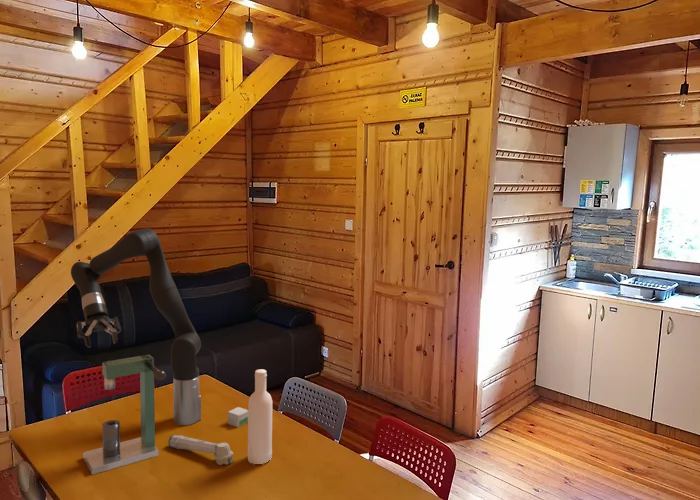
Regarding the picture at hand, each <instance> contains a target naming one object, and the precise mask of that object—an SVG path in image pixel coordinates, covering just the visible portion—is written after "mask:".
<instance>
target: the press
mask: <svg viewBox="0 0 700 500" xmlns="http://www.w3.org/2000/svg"><path fill="white" fill-rule="evenodd" d="M101 364H102V365H101V367H102V376H103V377H104V382H103V383H104V390H106V391H107V390H108V391H110V390H114V389H115V388H116V378H120V377H121V378H122V377H125V376H130V375H131V376H132V375H136V374H139V387H140V389H139V391H140V392H139V393H140V395H139V396H140V397H139V398H140V400H139V401H140V437H139V436H138V437H136V438H133V439H129V440H125V441H120V453H119V454H118V455H116V456H113V457H105V456H103V446H102V447H98V448H95V449H91V450H87V451H84V452H82V454H83V455H82V456H83V460H84V462H85V464H86V465H87V468H88V470H89V472H90V474H91V475H96V474H99V473H102V472H107V471H110V470H115V469H117V468H121V467H124V466H127V465H131V464H133V463H138V462H141V461H144V460H147V459H151V458H155V457H158V456H159V449H158V447H157V445H156V430H155V429H156V428H155V427H156V426H155V425H156V424H155V423H156V420H155V418H156V417H155V414H156V413H155V412H156V411H155V379H156V380H157V381H162V380H164V379H165V378H166V376H167V374H166V372H165V371H164V370H163V369H162V370H161V369H160V370H159V369H158V368H157V367H156V365H155V358H154V357H153V356H152V355H150V354H144V355H138V356H133V357H132V356H131V357H126V358H120V359H114V360H108V361H103V362H102V363H101Z"/></svg>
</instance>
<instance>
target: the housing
mask: <svg viewBox="0 0 700 500" xmlns="http://www.w3.org/2000/svg"><path fill="white" fill-rule="evenodd" d="M120 422H121V421H120V420H117V419H109V420H106V421H104V422H103V423H102V424H101V425H102V447H103V456H105V457H113V456H116V455H118V454H119V453H120V442H121V434H120V433H121V430H120V429H121V428H120V426H121V425H120Z"/></svg>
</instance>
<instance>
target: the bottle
mask: <svg viewBox="0 0 700 500" xmlns="http://www.w3.org/2000/svg"><path fill="white" fill-rule="evenodd" d="M254 372H255V373H254V391H253V393H251V395H250V396H249V398H248V407H247V408H248V409H247V410H248V425H247V462H249V463H250V464H252V463H253V464H252V465H255V464H262V465H264V464H263V463H266V462H268V461H269V460H270V461H271V460H272V459H271V458H272V456H273V399H272V398H273V397H272V396H271V394H270V393H269V392H268V391H267V377H268V374H267V370H266V369H263V368H262V369H261V368H260V369H256V370H255V371H254ZM270 461H269V462H270ZM269 462H268V463H269ZM266 464H267V463H266Z"/></svg>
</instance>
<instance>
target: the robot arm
mask: <svg viewBox="0 0 700 500" xmlns="http://www.w3.org/2000/svg"><path fill="white" fill-rule="evenodd" d="M141 256H145V257H146V260H147V262H148V264H149V270H150V274H149V293H150V296H151V297H152V300H153V302H154V305H155V306H156V308H157V311H159V313H161V315H162V316H163V317H164V319H165V320H166V321H167V323H169V324H170V326H171V328H172V331H173V333H174V335H175V336H174V337H175V340H174V341H173V342H172V344H171V346H170V366H171V371H172V375H173V376H172V377H173V379H172V380H173V383H172V384H173V385H172V386H173V389H172V390H173V422H174V424H175V425H178V426H189V425H193V424H195V423H197V422H198V421H202V396H201V394H200V369H199V367H198V366H197V354H198V353H199V352H200V350H201V348H202V341H201V338H200V336H199V334H198V332H197V331H196V328H195V327H194V325H193V324H192V322H191V319H190V318H189V316H188V313H187V310H186V307H185V304H184V303H183V301H182V297H181V295H180V292H179V290H178V287H177V285H176V283H175V280H174V279H173V277H172V274H171V271H170V269H169V266H168V264H167V261H166V258H165V257H166V256H165V254H164V250H163V247H162V244H161V241H160V238H159V236H158V235H157V233H156V231H155V230H153V229H152V228H149V227H145V228H141V229H137V230H133V231H131V232H129V233H127V235H125V236H124V237H123V238H122V239H121V240H120V241H119V242H118V243H116V244H115V245H114V246H112V247H110V248H108V249H107V250H105V251H102V252H101V253H99V254H97V255H96V256H94V257H92V258H91V259H90V261H89V263H88V262H84V261H77V262H75V263H73V264H72V266H71V267H70V268H71V269H70V276H71V279H72V280H73V282H74V284H75V286H76V287H77V289H78V290H79V293H80V298H81V306H82V310H83V315H84V319H85V321H81V320H78V321H77V322H76V331H77V338H78V339H83V340H84V345H85V346H86V347H87V348H89V349H90V348H92V340H91V338H90V337H91V334H92V332H94V333H97V332H104V331H105V332H106V333H109V334H110V335H111V339H112V343H113V345H116V344H117V343H118V340H119V338H118V334H120V333H121V332H122V326H121V323H120V320H119V317H118V316H114V318H110V317H109V316H108V310H107V308H106V303H105V299H104V297H103V293H102V290H101V285H100V284H99V283H98V281H99V280H100V279H101V278H102V277H103V275H104V274H105V273H106V272H109V271H110V270H112V269H114V268H116V267H117V266H118V265H120V263H122V262H124V261H125V260H128V259H132V258H135V257H141ZM110 323H111V324H112V325H113V326H114V327H113V326H112V325H111V324H110ZM84 326H85V327H86V328H87V330H86V331H85V333H84V332H83V329H84Z"/></svg>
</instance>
